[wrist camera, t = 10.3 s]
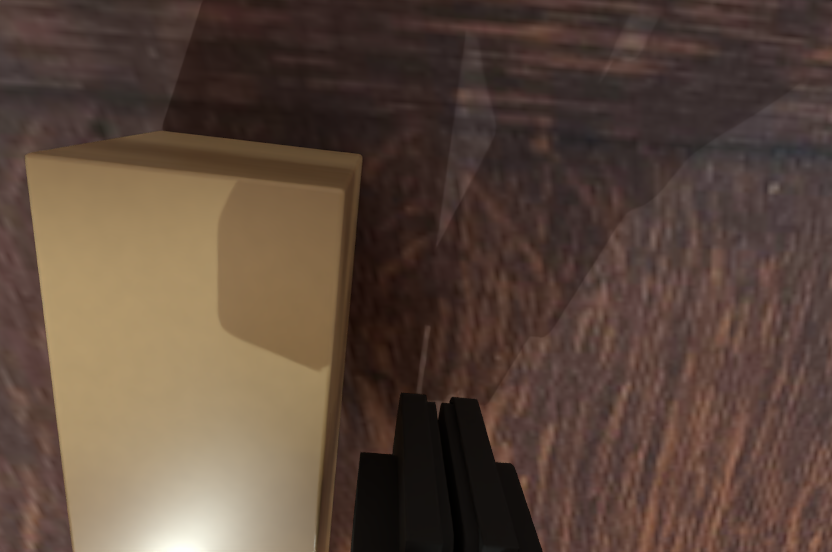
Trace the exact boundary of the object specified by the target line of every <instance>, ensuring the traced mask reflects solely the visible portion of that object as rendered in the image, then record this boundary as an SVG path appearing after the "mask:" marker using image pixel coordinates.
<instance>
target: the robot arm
mask: <svg viewBox="0 0 832 552" xmlns="http://www.w3.org/2000/svg"><path fill="white" fill-rule="evenodd" d="M351 552H543V551H542V548H541V545H540V542H539V539H538V536H537V533H536V530H535V527H534V524H533V521H532V518H531V515H530V512H529V509H528V506H527V503H526V500H525V497H524V494H523V491H522V488H521V485H520V482H519V479H518V476H517V473H516V470H515V468H514V466H513V465H512V464H511V463H498V462H495V460H494V456H493V453H492V449H491V446H490V442H489V439H488V435H487V431H486V428H485V424H484V421H483V417H482V414H481V410H480V407H479V403H478V400H477V399H469V398H458V397H452V398H451V400H450V403H442V404H441V406H440V412H439V418H437V411H436V404H435V402H427V398H426V395H422V394H410V393H401V394H400V400H399V407H398V415H397V422H396V430H395V437H394V445H393V453H392V454H378V453H365V452H361V453H360V461H359V471H358V480H357V489H356V499H355V509H354V519H353V530H352V542H351Z"/></svg>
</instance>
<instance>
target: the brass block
mask: <svg viewBox="0 0 832 552" xmlns="http://www.w3.org/2000/svg"><path fill="white" fill-rule="evenodd" d="M362 159H363V158H362V155H360V154H354V153H346V152H337V151H329V150H320V149H312V148H303V147H295V146H287V145H278V144H270V143H261V142H253V141H244V140H236V139H228V138H219V137H211V136H202V135H194V134H185V133H177V132H169V131H156V132H150V133H144V134H138V135H132V136H126V137H120V138H114V139H109V140H103V141H97V142H91V143H85V144H79V145H73V146H67V147H61V148H56V149H50V150H44V151H38V152H32V153H28V154H27V155H26V156H25V164H26V172H27V180H28V188H29V197H30V205H31V213H32V221H33V230H34V238H35V246H36V254H37V262H38V271H39V279H40V287H41V295H42V304H43V312H44V320H45V328H46V336H47V345H48V353H49V361H50V369H51V378H52V386H53V394H54V402H55V411H56V419H57V427H58V435H59V443H60V452H61V460H62V468H63V476H64V485H65V493H66V501H67V509H68V517H69V526H70V534H71V542H72V550H73V552H329V542H330V530H331V519H332V507H333V496H334V484H335V472H336V461H337V449H338V438H339V426H340V414H341V403H342V391H343V380H344V368H345V356H346V345H347V333H348V322H349V310H350V298H351V287H352V275H353V264H354V252H355V240H356V229H357V217H358V206H359V194H360V182H361V171H362Z"/></svg>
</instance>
